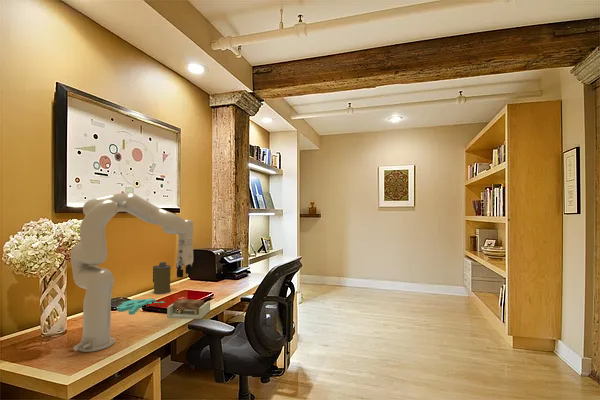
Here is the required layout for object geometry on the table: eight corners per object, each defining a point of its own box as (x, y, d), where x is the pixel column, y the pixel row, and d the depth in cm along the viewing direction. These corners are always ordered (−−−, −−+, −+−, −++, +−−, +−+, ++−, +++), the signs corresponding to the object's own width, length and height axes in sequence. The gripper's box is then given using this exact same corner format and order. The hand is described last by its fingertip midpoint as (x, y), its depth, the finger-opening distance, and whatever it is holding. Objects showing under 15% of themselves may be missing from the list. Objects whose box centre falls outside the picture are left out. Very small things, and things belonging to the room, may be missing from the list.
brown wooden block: (203, 306, 167) (203, 299, 167) (199, 310, 161) (199, 303, 161) (179, 305, 169) (179, 299, 169) (173, 309, 163) (173, 302, 163)
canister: (172, 289, 215) (172, 260, 216) (167, 294, 205) (168, 263, 205) (155, 290, 214) (156, 261, 214) (150, 294, 203) (150, 263, 204)
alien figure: (164, 305, 181) (144, 300, 192) (164, 301, 181) (144, 296, 192) (131, 315, 164) (110, 309, 175) (131, 311, 164) (110, 305, 175)
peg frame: (201, 318, 158) (201, 308, 158) (167, 317, 160) (167, 306, 160) (209, 311, 170) (210, 301, 170) (178, 310, 172) (178, 300, 172)
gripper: (184, 244, 156) (183, 279, 155) (199, 241, 173) (198, 272, 173) (170, 244, 157) (169, 278, 156) (186, 241, 174) (185, 272, 173)
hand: (184, 275), depth 164 cm, fingers open, 9 cm apart
